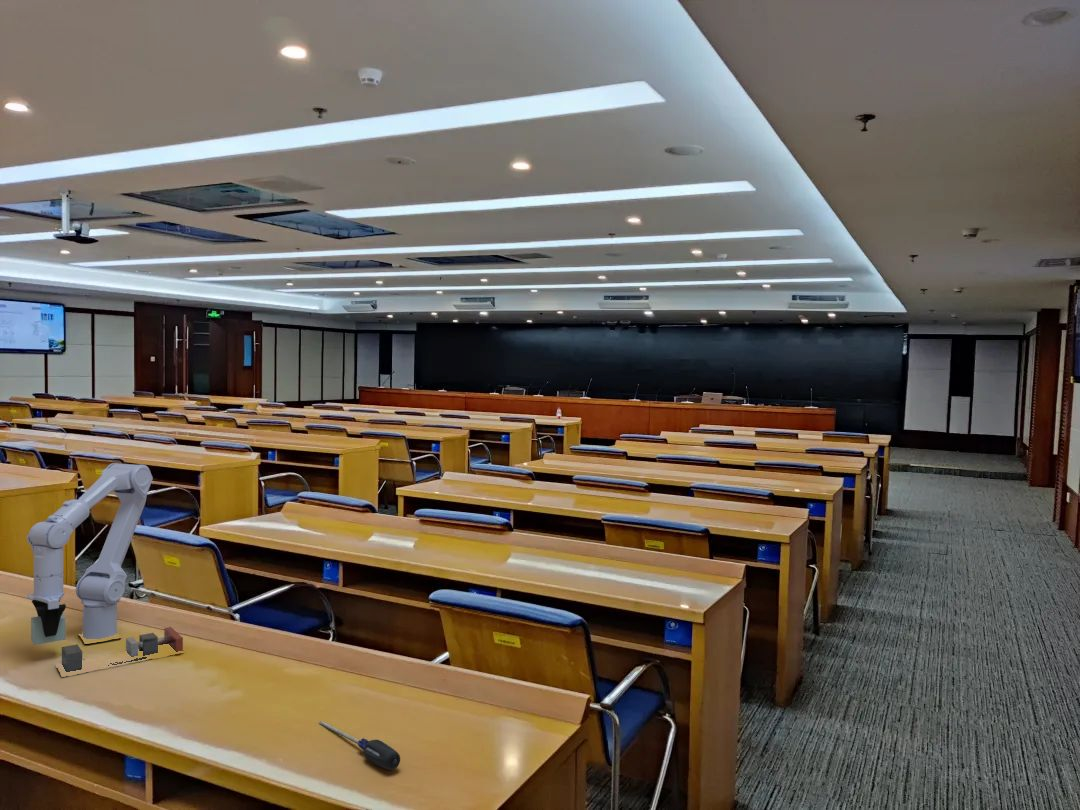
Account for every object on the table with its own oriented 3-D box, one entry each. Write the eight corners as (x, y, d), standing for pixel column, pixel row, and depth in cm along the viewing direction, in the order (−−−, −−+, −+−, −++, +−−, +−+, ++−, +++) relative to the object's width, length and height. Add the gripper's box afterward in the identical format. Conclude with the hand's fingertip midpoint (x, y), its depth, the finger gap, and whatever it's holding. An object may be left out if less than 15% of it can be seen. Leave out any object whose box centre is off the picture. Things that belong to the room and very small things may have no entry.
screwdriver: (310, 726, 142) (310, 706, 142) (328, 720, 145) (328, 701, 145) (385, 779, 124) (385, 757, 124) (404, 772, 126) (404, 750, 126)
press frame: (55, 667, 168) (55, 646, 168) (174, 644, 184) (174, 625, 184) (61, 678, 162) (61, 657, 161) (183, 653, 178) (183, 634, 178)
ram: (123, 647, 177) (123, 635, 177) (170, 639, 184) (170, 626, 184) (133, 660, 170) (133, 647, 170) (182, 650, 177) (182, 637, 177)
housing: (31, 639, 172) (31, 614, 172) (61, 633, 176) (61, 609, 176) (34, 645, 169) (34, 619, 168) (65, 639, 173) (65, 614, 172)
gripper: (23, 570, 175) (23, 627, 175) (32, 583, 164) (32, 645, 164) (59, 565, 180) (58, 621, 180) (69, 578, 169) (69, 638, 169)
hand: (48, 632), depth 173 cm, fingers closed on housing, 5 cm apart
